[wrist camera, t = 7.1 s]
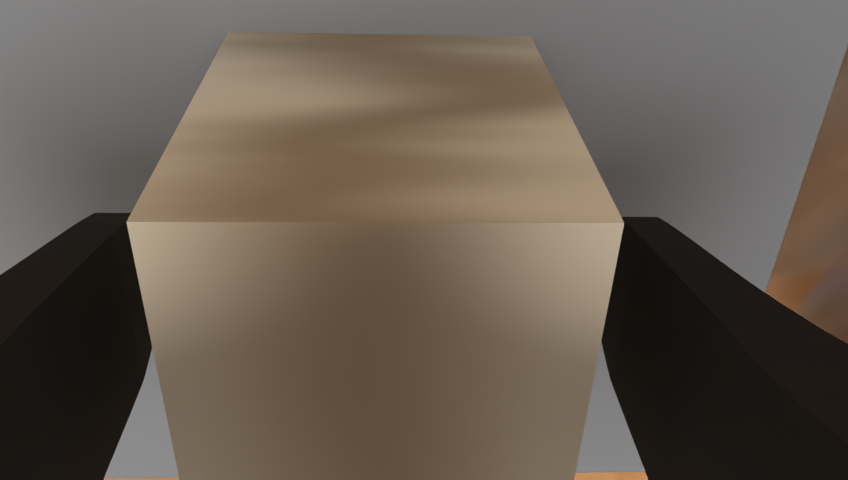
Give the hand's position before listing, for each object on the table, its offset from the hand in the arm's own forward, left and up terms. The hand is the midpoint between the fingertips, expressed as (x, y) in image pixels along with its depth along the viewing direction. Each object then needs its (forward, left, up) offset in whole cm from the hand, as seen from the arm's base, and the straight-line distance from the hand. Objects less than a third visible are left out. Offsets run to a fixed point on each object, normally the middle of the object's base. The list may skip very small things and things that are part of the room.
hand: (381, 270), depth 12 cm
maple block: (0, 0, -3) cm, 3 cm away
